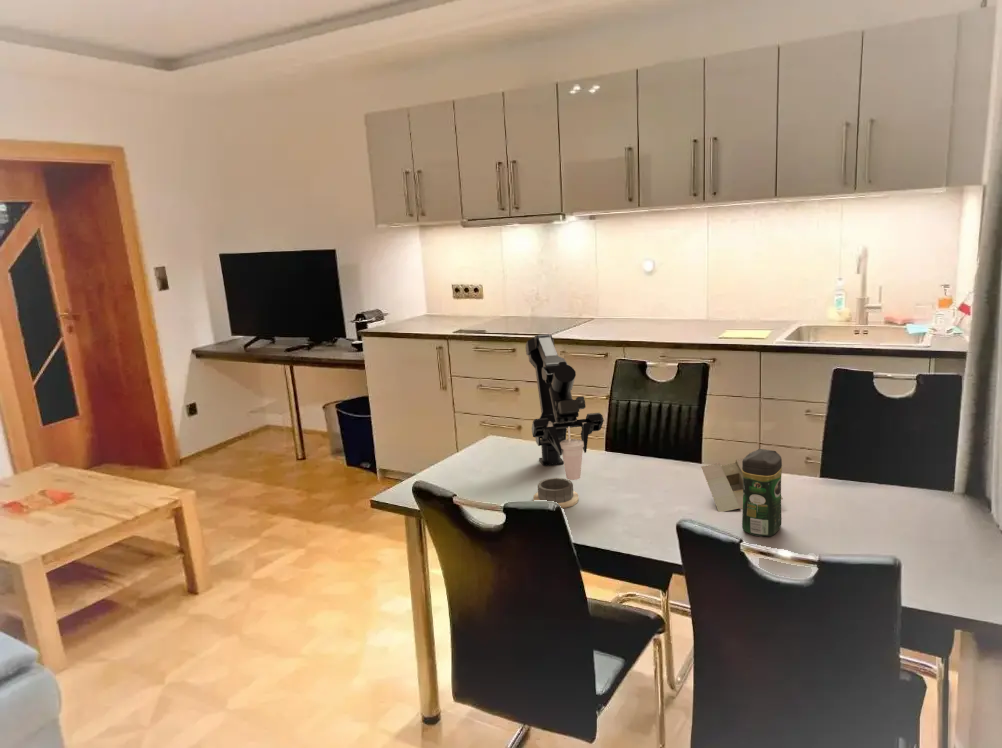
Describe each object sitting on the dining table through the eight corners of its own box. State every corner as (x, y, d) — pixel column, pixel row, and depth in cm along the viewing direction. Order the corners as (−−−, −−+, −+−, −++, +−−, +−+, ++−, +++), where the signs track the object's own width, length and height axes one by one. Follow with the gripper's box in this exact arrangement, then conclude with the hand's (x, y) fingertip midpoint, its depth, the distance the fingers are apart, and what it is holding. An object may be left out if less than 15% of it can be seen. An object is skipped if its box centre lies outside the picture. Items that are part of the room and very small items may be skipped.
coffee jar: (750, 518, 171) (751, 444, 167) (785, 524, 166) (786, 449, 162) (737, 533, 163) (737, 456, 159) (772, 540, 158) (773, 461, 155)
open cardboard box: (780, 513, 181) (759, 462, 190) (785, 499, 174) (763, 447, 183) (716, 526, 182) (698, 475, 191) (718, 512, 175) (700, 460, 184)
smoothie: (561, 473, 191) (558, 423, 188) (585, 472, 191) (583, 422, 188) (561, 482, 185) (558, 430, 182) (585, 481, 184) (583, 430, 181)
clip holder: (529, 494, 194) (528, 479, 193) (571, 489, 196) (571, 473, 195) (538, 511, 183) (538, 495, 182) (584, 505, 184) (583, 489, 184)
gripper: (531, 389, 185) (541, 443, 177) (600, 383, 188) (613, 435, 179) (527, 410, 195) (537, 462, 187) (593, 404, 197) (606, 455, 189)
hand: (573, 453), depth 185 cm, fingers closed on smoothie, 6 cm apart
